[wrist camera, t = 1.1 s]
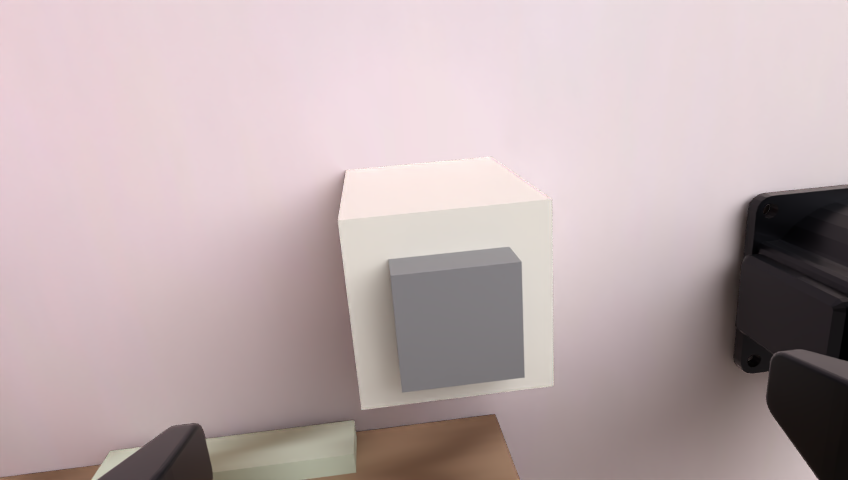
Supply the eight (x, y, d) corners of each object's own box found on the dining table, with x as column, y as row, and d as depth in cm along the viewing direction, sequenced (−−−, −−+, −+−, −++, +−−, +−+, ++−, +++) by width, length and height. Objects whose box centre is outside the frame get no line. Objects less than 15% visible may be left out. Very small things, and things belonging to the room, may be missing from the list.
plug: (491, 156, 18) (568, 210, 11) (496, 290, 19) (568, 410, 12) (345, 169, 17) (335, 234, 11) (361, 305, 19) (361, 437, 12)
